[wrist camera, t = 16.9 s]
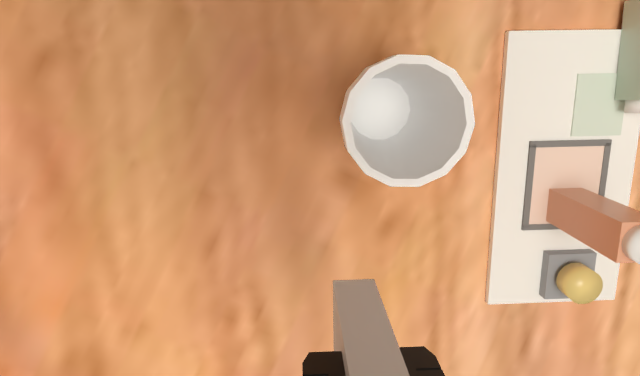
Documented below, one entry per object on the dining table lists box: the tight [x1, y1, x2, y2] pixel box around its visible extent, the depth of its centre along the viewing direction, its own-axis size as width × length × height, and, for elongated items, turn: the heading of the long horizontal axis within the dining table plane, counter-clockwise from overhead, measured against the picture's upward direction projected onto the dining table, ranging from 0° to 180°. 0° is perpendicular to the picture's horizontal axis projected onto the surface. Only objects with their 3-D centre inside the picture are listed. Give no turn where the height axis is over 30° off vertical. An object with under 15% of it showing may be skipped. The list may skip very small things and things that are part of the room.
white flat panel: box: [485, 29, 640, 304], centre depth 47 cm, size 28×14×2 cm, turn 1°
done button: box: [556, 262, 603, 304], centre depth 47 cm, size 4×4×2 cm
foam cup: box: [339, 55, 475, 187], centre depth 40 cm, size 10×9×13 cm
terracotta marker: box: [546, 188, 640, 264], centre depth 42 cm, size 3×3×12 cm
